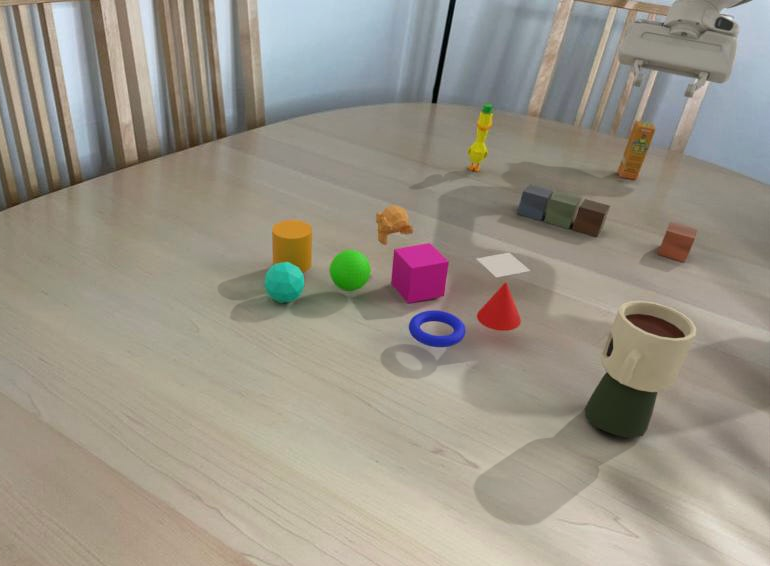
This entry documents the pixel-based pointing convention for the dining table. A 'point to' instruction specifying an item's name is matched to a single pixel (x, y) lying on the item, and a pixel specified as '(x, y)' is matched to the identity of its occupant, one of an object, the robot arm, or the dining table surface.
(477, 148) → the toy figure
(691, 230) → the block row
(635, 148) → the supplement box
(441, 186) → the dining table surface
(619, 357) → the character mug
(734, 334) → the dining table surface
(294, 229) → the shape set
